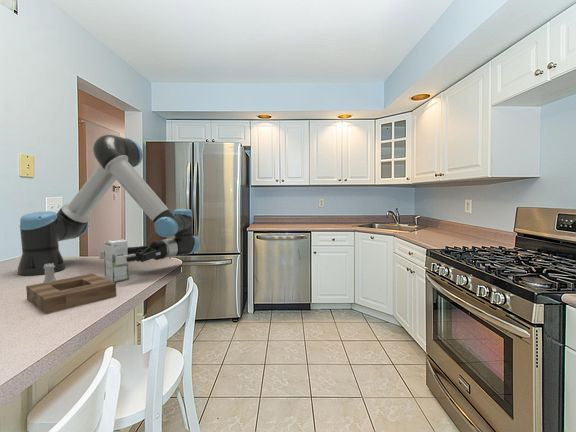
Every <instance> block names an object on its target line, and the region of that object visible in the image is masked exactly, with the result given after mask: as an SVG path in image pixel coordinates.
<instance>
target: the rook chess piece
mask: <svg viewBox="0 0 576 432" xmlns="http://www.w3.org/2000/svg"><path fill="white" fill-rule="evenodd" d="M54 267H55V266H54V263H51V265H50V263H48V265H47V264H44V267H43V268H44V269H45V274H44V280H43V282H42V283H45V282H50V281H55V280H57V279H56V276H55V272H54Z"/></svg>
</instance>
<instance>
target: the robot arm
mask: <svg viewBox="0 0 576 432" xmlns="http://www.w3.org/2000/svg"><path fill="white" fill-rule="evenodd" d="M92 149H93V151H92V152H93V155H94V157H95V158H94V159H96V162H98V166H97V167H96V169H95V170H94V171H93V172H92V174H91V175H90V177H88V178H87V180H86V182H85V183H84V184H83V186H82V187H81V188H80V189H79V191H78V192H77V193H76V195H75V196H74V197H73V198H72V200H71V201H70V202H69V203H68V204H63V205H62V206H61V207H60V208H59V209H58V211H57V213H56V211H52V210H51V211H50V210H48V211H47V210H46V211H38V212H30V213H26V214H23V215H22V216H21V217H20V219H19V222H20V224H19V229H20V230H19V231H20V242H21V253H22V254H21V257H20V259H19V262H18V266H17V274H18V275H20V276H38V275H39V276H40V275H45V269H44V268H43V267H44V264H47V265H48V263H50V265H51V263H54V266H55V267H54V273H56V272H59V271H62V270H65V269H66V262H65V260H64V258H63V256H62V254H61V251H60V246H59V242H62V241H66V240H67V241H68V240H72V239H73V240H74V239H77V238H79V237H81V236H83V235H84V234H85V233H86V232H87V231H88V229H89V221H90V214H91V212H93V210H94V209H95V208H96V206H97V205H98V204H99V202H100V201H101V200H102V199H103V197H104V196H105V195H106V194H107V193H108V191H109V190H110V188H111V187H112V186H113V185H114V183H115V182H116V181H117V182H118V183H119V184H120V185H121V186H122V188H124V190H125V191H126V192H127V193H128V195H130V197H131V198H132V199H133V200H134V201H135V202H136V204H137V205H138V207H140V209H141V210H142V211H143V212H144V213H145V215H146V216H148V217H149V219H150V220H151V221H152V222H153V224H154V232H155V233H156V235H158V236H159V237H162V238H164V239H160V240H153V241H152V242H151V243H150V244H149V246H148V245H141V246H131V247H130V246H127V249H128V255H124V256H118V257H115V261H116V265H120V264H125V263H128V264H130V263H135V262H141V263H144V262H147V261H151V260H155V261H157V260H163V259H167V258H168V259H170V260H171V259H172V258H174V257H178V256H184V255H190V254H195V253H197V251H199V249H200V242H199V238H198V237H197V236H196V235H194V233H193V231H194V228H193V226H194V224H193V219H194V217H193V210H192V209H190V208H179V209H178V208H176V209H174V210H173V212H172V211H171V210H170V209H169V208H168V207H167V205H166V204H165V203H164V202H163V201H162V200H161V198H160V197H159V196H158V195H157V194H156V192H155V191H154V190H153V189H152V188H151V186H150V185H149V184H148V183H147V182H146V180H144V178H143V176H141V175H140V174H139V173H138V171H137V170H136V169H135V167H137V166H139V165H140V164H141V163H142V160H143V149H142V148H141V145H140V144H139V143H138V142H137V141H134V140H132V139H131V138H130V139H129V138H125V137H122V136H119V135H118V136H117V135H114V134H103V135H101V136H99V137H98V138H96V140H95V142H94V144H93V148H92ZM173 236H174V237H173ZM168 237H173V238H168ZM165 238H166V239H165ZM98 260H104V250H103V251H98Z"/></svg>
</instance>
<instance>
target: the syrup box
mask: <svg viewBox="0 0 576 432" xmlns="http://www.w3.org/2000/svg"><path fill="white" fill-rule="evenodd" d="M127 247H128V241H127V240H126V239H122V238H118V239H111V240H109V239H108V240H103V251H104V259H103V260H104V279H107V280H109V281H112V282H114V283H117V282H121V281H122V282H123V281H125V280H129V263H125V264H120V265H116V261H115V257H118V256H124V255H128V249H127Z"/></svg>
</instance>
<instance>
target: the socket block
mask: <svg viewBox="0 0 576 432" xmlns="http://www.w3.org/2000/svg"><path fill="white" fill-rule="evenodd" d="M25 288H26V289H25V290H26V300H27V301H29V302H30V303H31V304H33V305H34V306H35V307H36V308H38V309H39V310H40V311H42V312H43V313H44V314H45V315H46V314H50V313H54V312H57V311H61V310H65V309H69V308H75V307H78V306H81V305H85V304H89V303H94V302H98V301H102V300H104V299H111V298H113V297H117V282H112V281H109V280H107V279H105V277H103V276H99V275H98V274H97V275H96V274H95V273H88V274H82V275H77V276H74V277H73V276H72V277H67V278H62V279H56V280H55V281H50V282H45V283H43V282H41V283H40V282H39V283H35V284H30V285H26V286H25Z"/></svg>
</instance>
